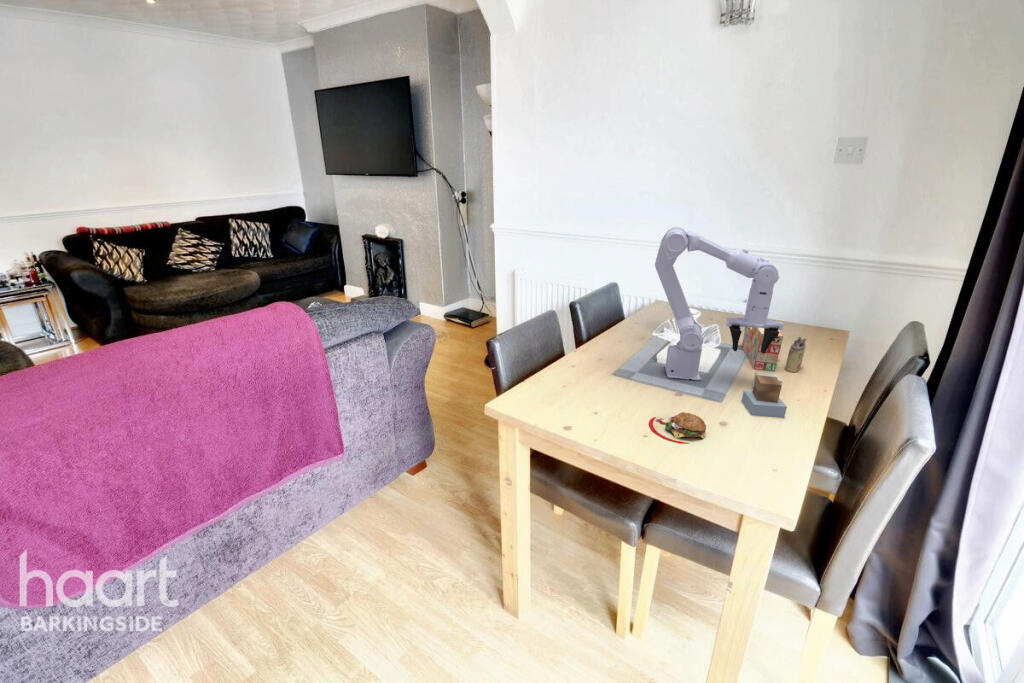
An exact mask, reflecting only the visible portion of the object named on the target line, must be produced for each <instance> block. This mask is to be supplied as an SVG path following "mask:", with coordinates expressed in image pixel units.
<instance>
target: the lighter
mask: <svg viewBox="0 0 1024 683" xmlns="http://www.w3.org/2000/svg"><path fill="white" fill-rule="evenodd" d="M806 341H807V339H806V338H802V337H801V336H798V337H797V339H795V340H794V341H793V343H792V344H791V346H790V348H789V351H788V354H787V359H786V363H785V367H784V370H786V371H787V372H790V373H797V372H799V371H800V369H801V367H802V362H803V359H804V355H805V351H806Z"/></svg>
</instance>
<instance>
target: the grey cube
mask: <svg viewBox="0 0 1024 683" xmlns="http://www.w3.org/2000/svg"><path fill="white" fill-rule="evenodd" d="M756 375H761V376H771V377H777V378H778V380H779V382H780V383H781V385H782V384H783V380H782V379H781V378H779V377H778V376H777V375H776V374H774V372H773V373H772V372H769V373H768V372H767V373H766V372H758V373H757V372H755V373H754V377H753V378H754V379H753V384H752V388H751V389H752V390H753V387H754V382H755V378H756Z"/></svg>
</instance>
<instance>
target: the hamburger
mask: <svg viewBox="0 0 1024 683" xmlns="http://www.w3.org/2000/svg"><path fill="white" fill-rule="evenodd" d="M664 420H665V418H662V417H661V418H657V417H656V416H654V417H651V418H650V419H649V420H648V428H649V429H650V431H651V432H652V433H654V434H655V435H656V436H657V437H659V438H661V439H664V440H666V441H668V442H672V443H676V444H684V445H687V444H690V443H689V442H685V441H679V440H675V439H678V438H682V437H683V438H684V437H685V438H690V439H691V438H692V439H693V438H700V437H701V438H702V439H703V440H704V439H705V437H706V436H707V432H706V430H707V425H706V423H705V420H703V419H702V417H700V416H698V415H696V414H693V413H690V412H685V411H682V412H680V413H677V414H675V415H673V416H670V417H668V421H664ZM654 422H656V423H659V424H660V425H663V426H664V425H665V428H666V429H667V430H670V432H672V434H673V436H674V439H673V438H668V437H667V436H665V435H662V434H661V433H660V432H658V431H657V430H656V429H655V427H654Z"/></svg>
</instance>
